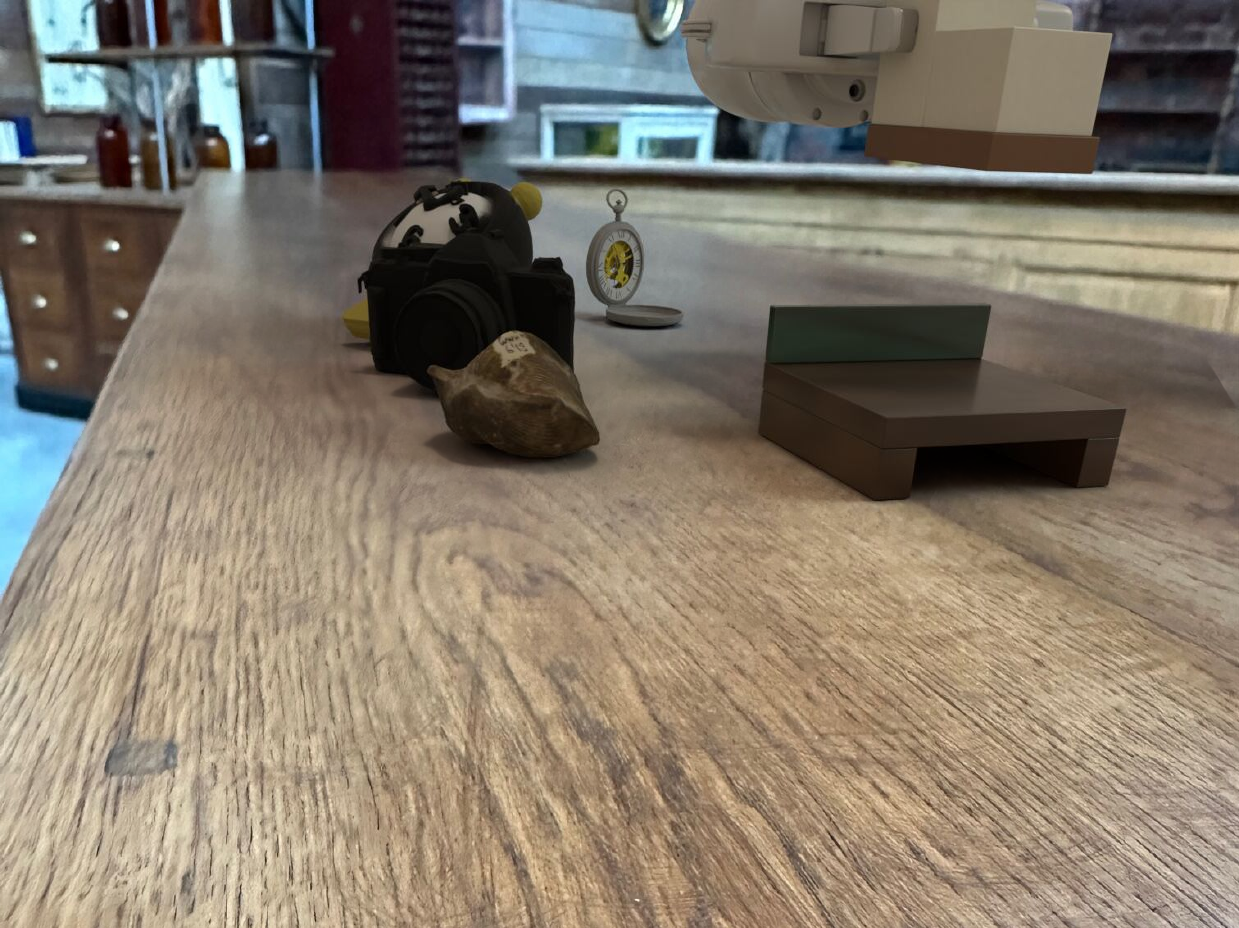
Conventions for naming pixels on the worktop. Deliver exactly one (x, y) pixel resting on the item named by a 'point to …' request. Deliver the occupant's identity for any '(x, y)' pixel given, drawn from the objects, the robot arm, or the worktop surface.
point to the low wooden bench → (918, 396)
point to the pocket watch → (622, 273)
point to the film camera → (462, 303)
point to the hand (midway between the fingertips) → (966, 34)
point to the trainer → (989, 91)
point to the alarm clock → (457, 225)
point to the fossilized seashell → (517, 399)
